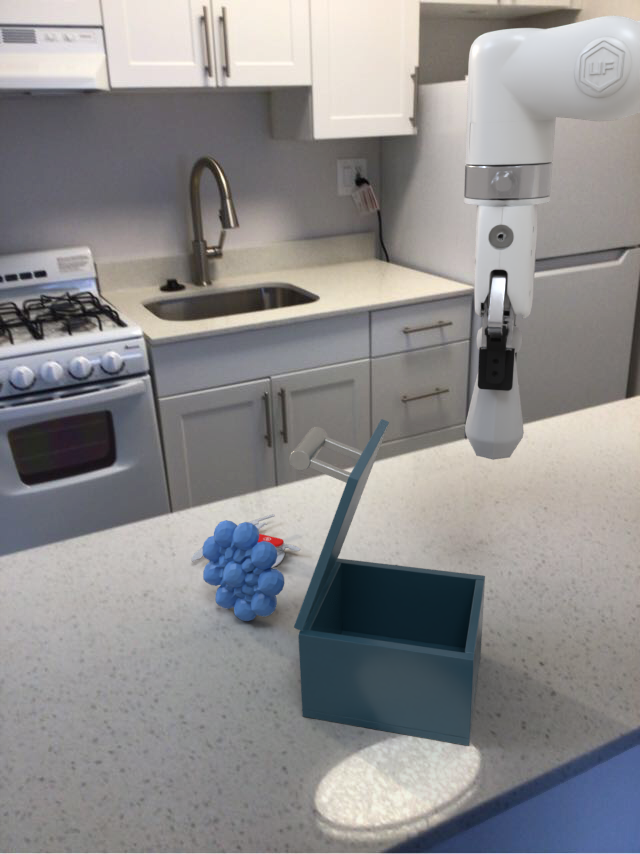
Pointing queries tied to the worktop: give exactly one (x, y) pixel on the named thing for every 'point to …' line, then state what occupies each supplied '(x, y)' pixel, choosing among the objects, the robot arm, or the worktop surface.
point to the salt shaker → (496, 414)
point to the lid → (347, 505)
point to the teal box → (394, 650)
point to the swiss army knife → (275, 541)
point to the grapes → (242, 570)
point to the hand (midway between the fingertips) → (497, 379)
